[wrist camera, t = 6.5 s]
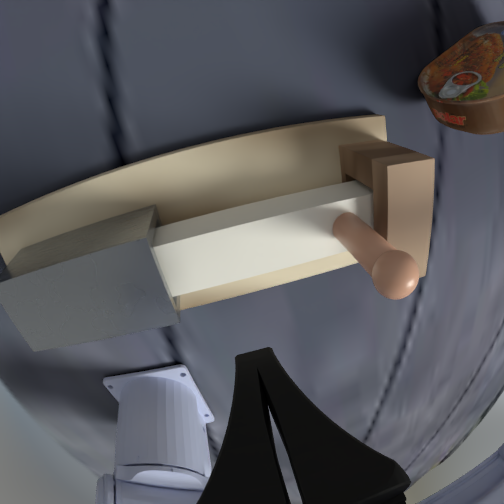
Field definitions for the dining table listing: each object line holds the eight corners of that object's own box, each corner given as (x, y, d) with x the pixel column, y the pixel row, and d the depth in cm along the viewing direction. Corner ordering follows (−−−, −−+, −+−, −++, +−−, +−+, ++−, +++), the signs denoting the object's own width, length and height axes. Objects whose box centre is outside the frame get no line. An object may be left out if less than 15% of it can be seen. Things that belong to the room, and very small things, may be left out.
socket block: (382, 237, 21) (425, 275, 16) (345, 247, 21) (384, 290, 16) (380, 139, 17) (434, 158, 13) (338, 145, 17) (387, 166, 13)
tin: (489, 17, 14) (563, 21, 7) (503, 47, 16) (575, 58, 8) (393, 89, 17) (490, 103, 10) (414, 126, 18) (506, 156, 11)
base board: (380, 247, 22) (387, 253, 22) (53, 329, 21) (50, 338, 20) (376, 114, 17) (384, 115, 17) (-6, 218, 16) (-13, 224, 15)
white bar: (372, 222, 19) (455, 294, 12) (122, 285, 18) (97, 395, 11) (370, 177, 17) (467, 235, 10) (103, 243, 16) (58, 345, 9)
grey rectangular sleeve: (180, 277, 19) (180, 322, 15) (53, 308, 19) (33, 351, 15) (155, 204, 17) (145, 237, 13) (20, 248, 16) (-10, 285, 12)
